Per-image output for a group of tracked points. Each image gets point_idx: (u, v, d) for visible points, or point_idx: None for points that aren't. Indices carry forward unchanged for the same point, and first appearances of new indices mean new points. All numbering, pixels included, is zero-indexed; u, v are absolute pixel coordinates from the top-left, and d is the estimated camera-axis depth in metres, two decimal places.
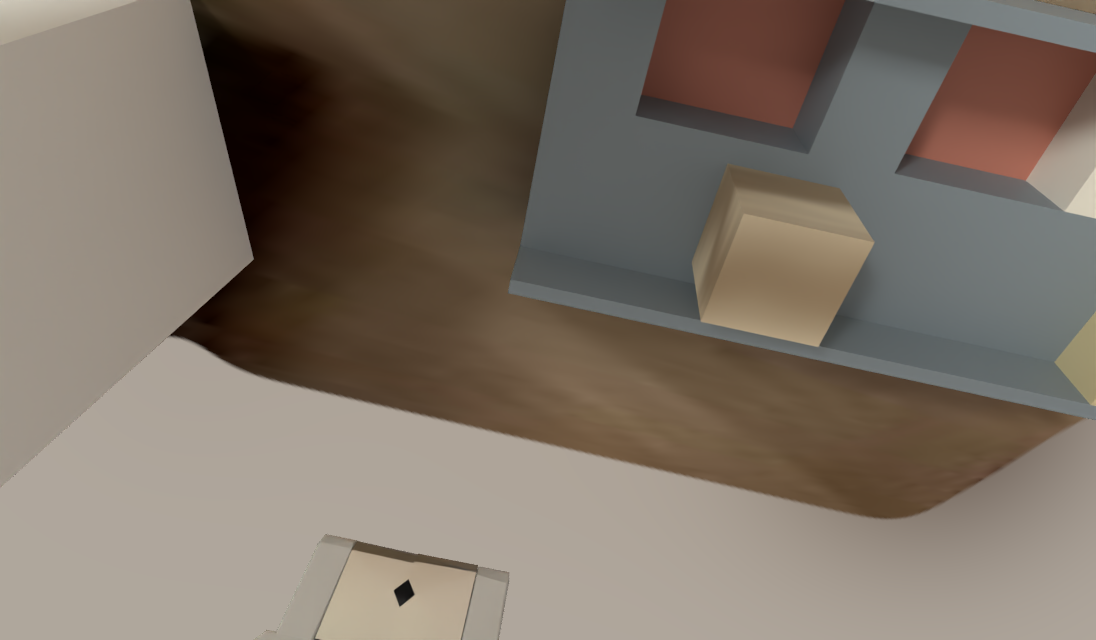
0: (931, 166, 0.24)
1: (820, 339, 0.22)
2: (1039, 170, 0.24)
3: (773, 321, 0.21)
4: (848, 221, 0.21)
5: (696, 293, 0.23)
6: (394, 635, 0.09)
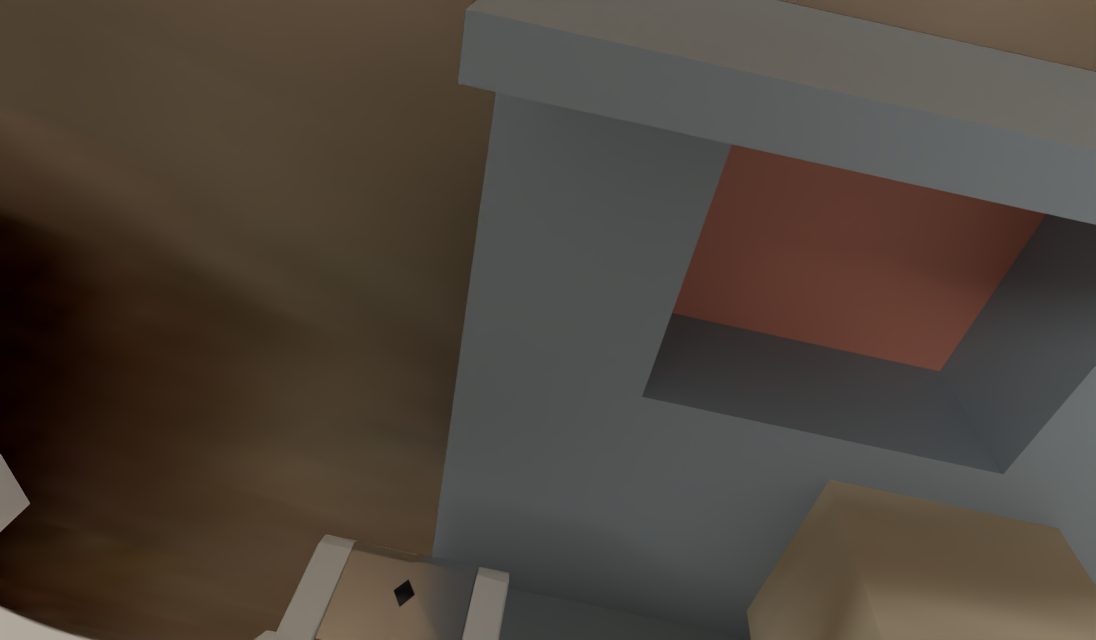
0: None
1: None
2: None
3: None
4: None
5: None
6: (394, 635, 0.09)
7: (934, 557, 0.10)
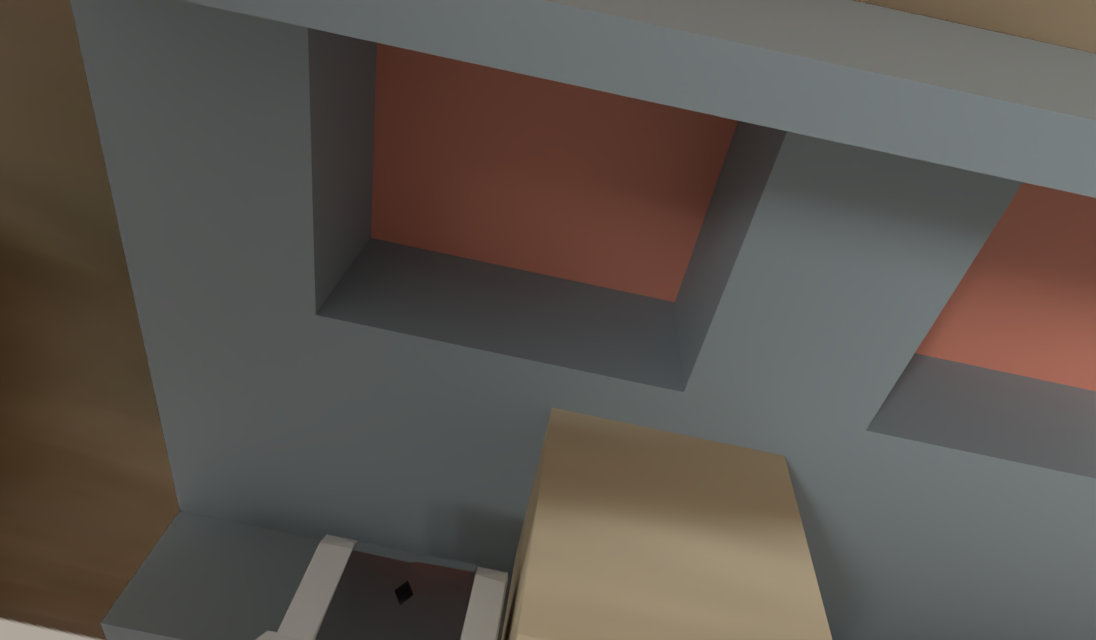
0: (943, 385, 0.12)
1: None
2: None
3: None
4: (788, 600, 0.09)
5: None
6: (393, 635, 0.09)
7: (630, 479, 0.10)
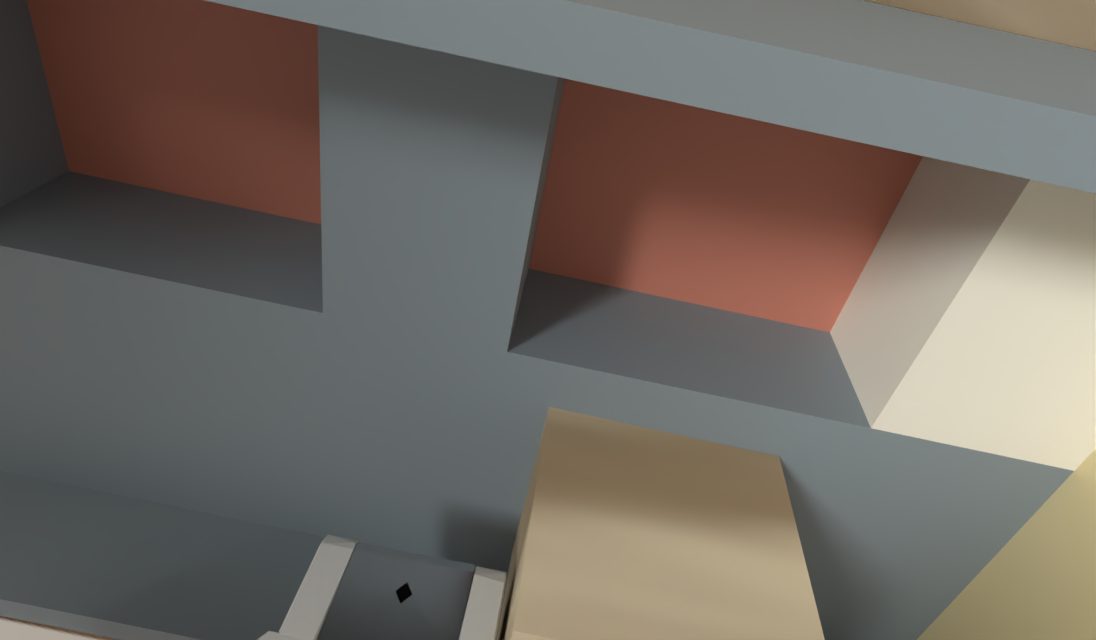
0: (630, 316, 0.12)
1: None
2: (846, 319, 0.12)
3: None
4: (781, 599, 0.09)
5: None
6: (391, 634, 0.09)
7: (626, 478, 0.10)
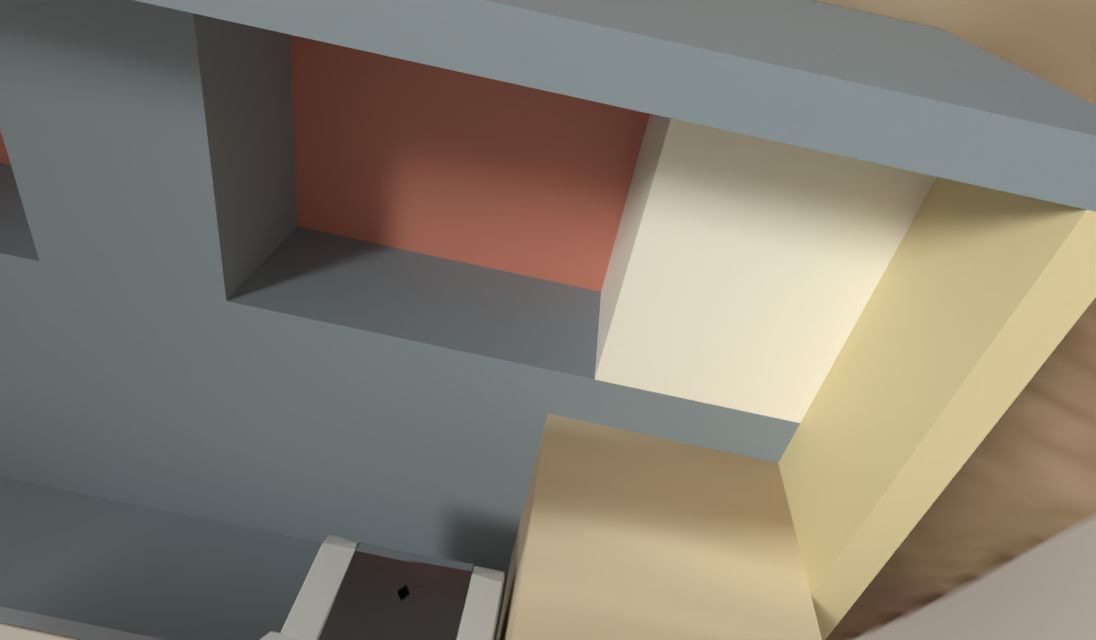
0: (385, 272, 0.12)
1: None
2: (606, 277, 0.12)
3: None
4: (781, 607, 0.09)
5: None
6: (389, 634, 0.09)
7: (625, 485, 0.10)
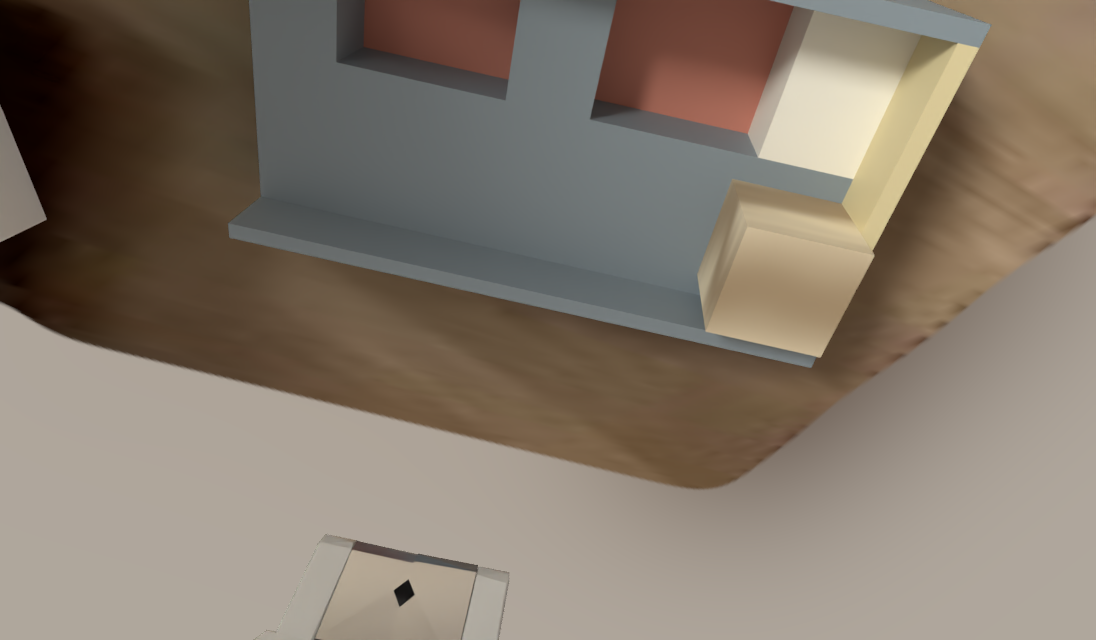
0: (646, 117, 0.24)
1: (822, 350, 0.22)
2: (754, 122, 0.25)
3: (776, 331, 0.22)
4: (849, 234, 0.21)
5: None
6: (394, 635, 0.09)
7: (775, 200, 0.22)
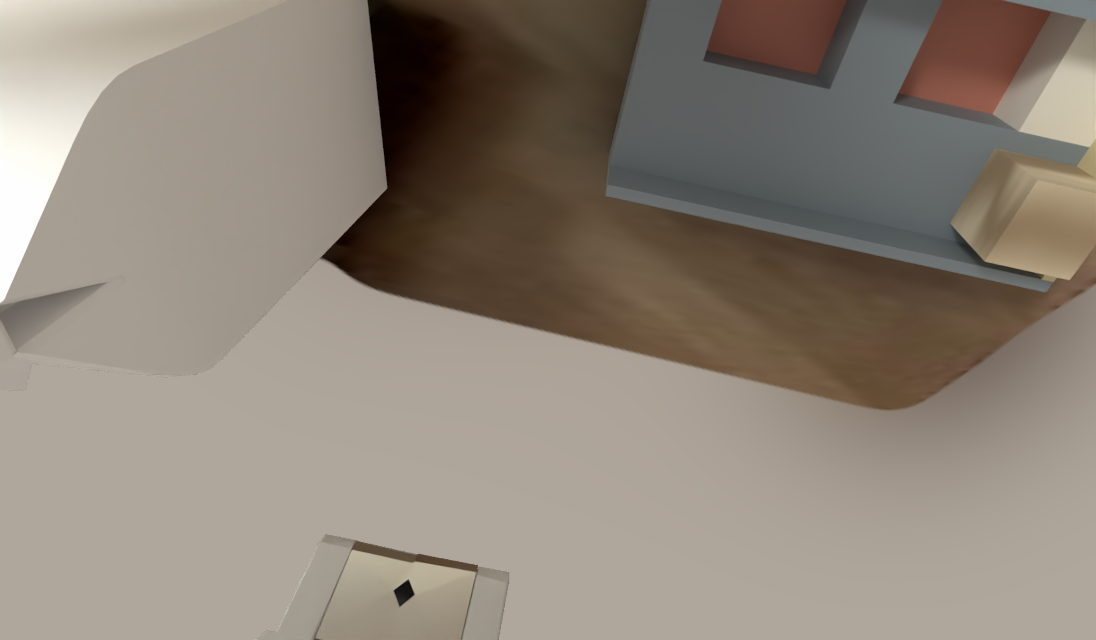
0: (921, 102, 0.32)
1: (1072, 274, 0.30)
2: (1002, 105, 0.32)
3: (1039, 260, 0.30)
4: None
5: (968, 243, 0.31)
6: (394, 635, 0.09)
7: (1035, 163, 0.30)
